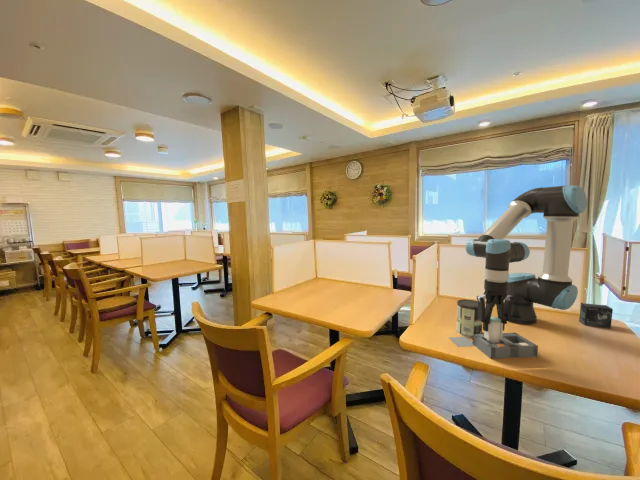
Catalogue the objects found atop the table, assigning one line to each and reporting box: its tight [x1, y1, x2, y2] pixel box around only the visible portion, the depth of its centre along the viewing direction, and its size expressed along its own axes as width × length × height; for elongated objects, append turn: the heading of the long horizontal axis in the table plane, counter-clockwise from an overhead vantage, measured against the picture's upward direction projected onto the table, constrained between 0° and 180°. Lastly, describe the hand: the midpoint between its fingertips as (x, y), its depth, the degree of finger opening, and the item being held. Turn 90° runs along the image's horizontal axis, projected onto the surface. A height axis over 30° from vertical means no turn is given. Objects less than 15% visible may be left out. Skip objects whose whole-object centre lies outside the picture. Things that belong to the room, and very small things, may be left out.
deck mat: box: [447, 336, 475, 348], centre depth 113 cm, size 8×8×1 cm
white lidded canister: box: [487, 315, 501, 344], centre depth 105 cm, size 4×4×12 cm
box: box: [578, 302, 614, 329], centre depth 126 cm, size 9×6×10 cm, turn 68°
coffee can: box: [455, 299, 483, 339], centre depth 120 cm, size 10×10×14 cm
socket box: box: [472, 332, 539, 360], centre depth 105 cm, size 18×11×5 cm, turn 93°
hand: (493, 338), depth 105 cm, fingers closed on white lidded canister, 4 cm apart
